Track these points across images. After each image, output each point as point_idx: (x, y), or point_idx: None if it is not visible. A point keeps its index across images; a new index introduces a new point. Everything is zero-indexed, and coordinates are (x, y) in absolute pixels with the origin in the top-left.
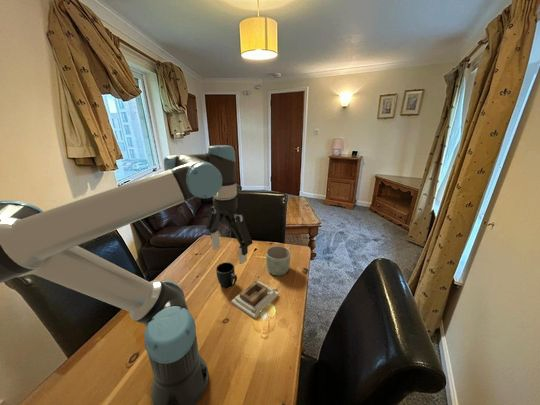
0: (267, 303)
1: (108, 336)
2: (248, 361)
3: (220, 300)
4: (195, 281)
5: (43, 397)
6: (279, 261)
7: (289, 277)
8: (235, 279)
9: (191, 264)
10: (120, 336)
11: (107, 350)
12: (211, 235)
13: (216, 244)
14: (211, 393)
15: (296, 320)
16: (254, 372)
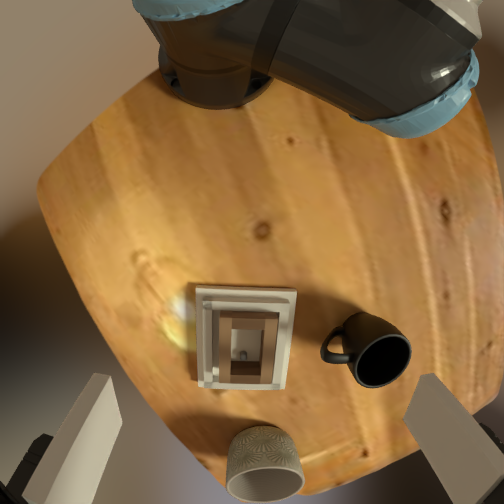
0: (197, 343)
1: None
2: (128, 181)
3: (331, 274)
4: (439, 279)
5: None
6: (240, 466)
7: (217, 436)
8: (322, 350)
9: (481, 313)
10: None
11: None
12: (502, 454)
13: (429, 421)
14: (151, 85)
15: (112, 337)
16: (103, 172)
